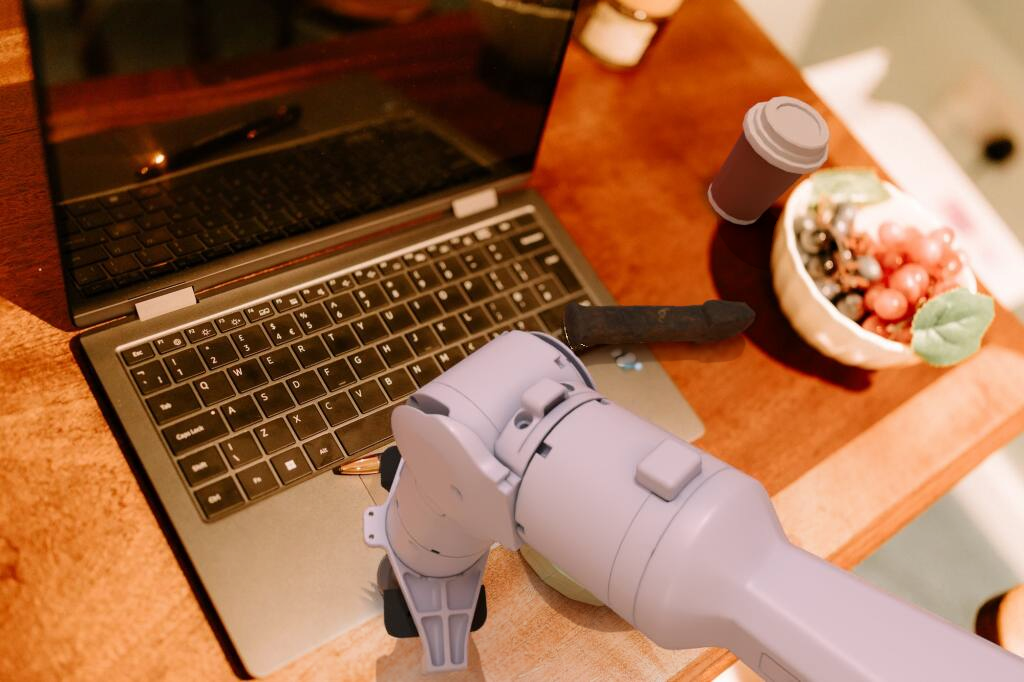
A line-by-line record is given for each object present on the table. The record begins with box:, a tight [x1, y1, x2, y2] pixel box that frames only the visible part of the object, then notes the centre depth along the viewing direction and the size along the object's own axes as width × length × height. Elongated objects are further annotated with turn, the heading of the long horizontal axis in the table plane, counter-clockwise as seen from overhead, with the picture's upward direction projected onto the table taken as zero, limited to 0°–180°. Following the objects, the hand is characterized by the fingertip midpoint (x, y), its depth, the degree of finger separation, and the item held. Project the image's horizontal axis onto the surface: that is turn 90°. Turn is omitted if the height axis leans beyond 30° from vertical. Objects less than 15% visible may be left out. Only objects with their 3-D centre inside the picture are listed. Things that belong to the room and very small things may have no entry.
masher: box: [376, 553, 401, 596], centre depth 46 cm, size 4×4×8 cm
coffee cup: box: [707, 95, 831, 226], centre depth 73 cm, size 9×9×12 cm
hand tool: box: [561, 299, 756, 351], centre depth 64 cm, size 19×4×5 cm, turn 98°
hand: (414, 561), depth 45 cm, fingers open, 5 cm apart
